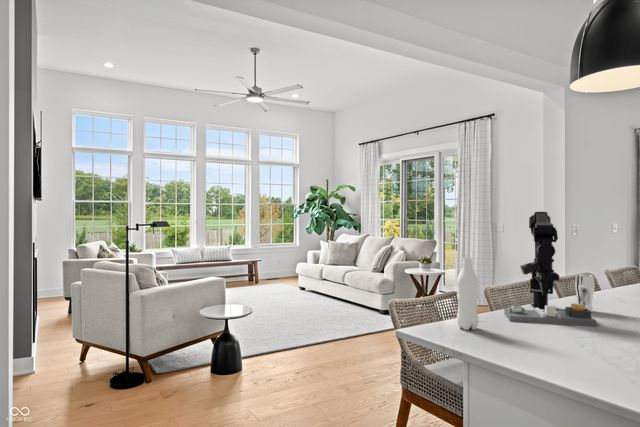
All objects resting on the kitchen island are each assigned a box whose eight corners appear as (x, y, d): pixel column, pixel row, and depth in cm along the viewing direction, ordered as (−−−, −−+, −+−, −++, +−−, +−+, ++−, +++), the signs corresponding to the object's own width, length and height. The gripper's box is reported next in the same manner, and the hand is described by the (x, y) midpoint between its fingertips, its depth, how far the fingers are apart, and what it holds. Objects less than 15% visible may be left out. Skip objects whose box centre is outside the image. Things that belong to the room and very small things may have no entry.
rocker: (511, 308, 172) (511, 306, 173) (519, 309, 172) (519, 306, 172) (513, 308, 168) (513, 305, 168) (522, 309, 167) (522, 306, 167)
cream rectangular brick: (544, 314, 165) (544, 305, 165) (554, 315, 164) (554, 305, 164) (546, 316, 162) (546, 306, 162) (556, 316, 162) (555, 307, 162)
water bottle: (479, 331, 150) (479, 259, 150) (458, 330, 151) (457, 258, 151) (476, 326, 157) (476, 256, 157) (455, 325, 158) (455, 256, 158)
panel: (504, 313, 177) (504, 302, 177) (583, 317, 170) (583, 306, 170) (510, 321, 164) (510, 309, 164) (596, 326, 157) (596, 313, 157)
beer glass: (589, 309, 185) (589, 274, 185) (597, 312, 178) (597, 276, 178) (571, 308, 186) (571, 273, 186) (580, 312, 179) (580, 276, 179)
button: (569, 309, 167) (569, 303, 167) (582, 310, 166) (582, 303, 166) (573, 311, 163) (573, 305, 163) (586, 312, 162) (586, 306, 162)
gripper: (517, 253, 183) (517, 290, 183) (527, 257, 165) (527, 299, 164) (546, 254, 180) (546, 292, 180) (559, 258, 162) (559, 300, 162)
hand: (544, 295), depth 172 cm, fingers closed
